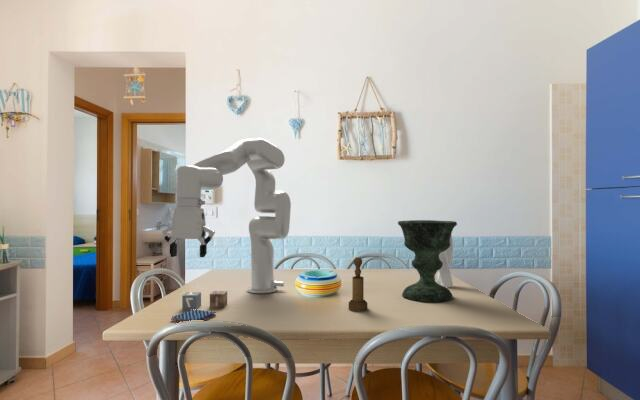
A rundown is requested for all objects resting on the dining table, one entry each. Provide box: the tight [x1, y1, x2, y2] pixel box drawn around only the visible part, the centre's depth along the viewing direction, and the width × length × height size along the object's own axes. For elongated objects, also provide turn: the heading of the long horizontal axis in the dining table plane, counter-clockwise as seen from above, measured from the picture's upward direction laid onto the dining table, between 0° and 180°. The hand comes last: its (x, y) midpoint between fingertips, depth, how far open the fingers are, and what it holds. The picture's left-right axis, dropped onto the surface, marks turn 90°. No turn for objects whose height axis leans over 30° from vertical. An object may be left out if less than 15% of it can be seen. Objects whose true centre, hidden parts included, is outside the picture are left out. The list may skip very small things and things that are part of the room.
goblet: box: [397, 219, 458, 303], centre depth 150 cm, size 22×23×30 cm
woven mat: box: [170, 309, 217, 323], centre depth 122 cm, size 10×11×2 cm
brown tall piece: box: [348, 257, 369, 312], centre depth 133 cm, size 7×6×18 cm
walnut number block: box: [209, 290, 228, 309], centre depth 137 cm, size 5×5×5 cm
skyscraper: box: [434, 233, 454, 288], centre depth 170 cm, size 8×8×28 cm
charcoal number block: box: [181, 291, 202, 311], centre depth 135 cm, size 5×5×5 cm
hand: (188, 256), depth 123 cm, fingers open, 9 cm apart
